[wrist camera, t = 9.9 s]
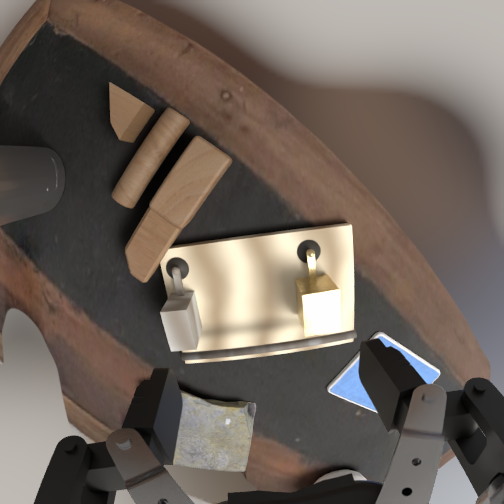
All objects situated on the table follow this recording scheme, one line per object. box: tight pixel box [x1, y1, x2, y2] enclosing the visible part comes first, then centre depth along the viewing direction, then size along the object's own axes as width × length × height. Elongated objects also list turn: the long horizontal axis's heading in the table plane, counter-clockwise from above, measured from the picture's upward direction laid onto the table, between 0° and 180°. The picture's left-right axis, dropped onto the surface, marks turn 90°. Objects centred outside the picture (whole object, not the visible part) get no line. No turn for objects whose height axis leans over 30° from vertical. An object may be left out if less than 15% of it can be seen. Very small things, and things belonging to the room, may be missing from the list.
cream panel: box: [160, 223, 357, 363], centre depth 34 cm, size 23×16×7 cm
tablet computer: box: [327, 332, 440, 413], centre depth 42 cm, size 19×13×1 cm, turn 56°
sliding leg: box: [295, 249, 340, 337], centre depth 33 cm, size 4×8×5 cm, turn 7°
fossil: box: [173, 390, 256, 472], centre depth 42 cm, size 20×5×17 cm
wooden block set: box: [109, 82, 232, 283], centre depth 31 cm, size 17×6×18 cm
